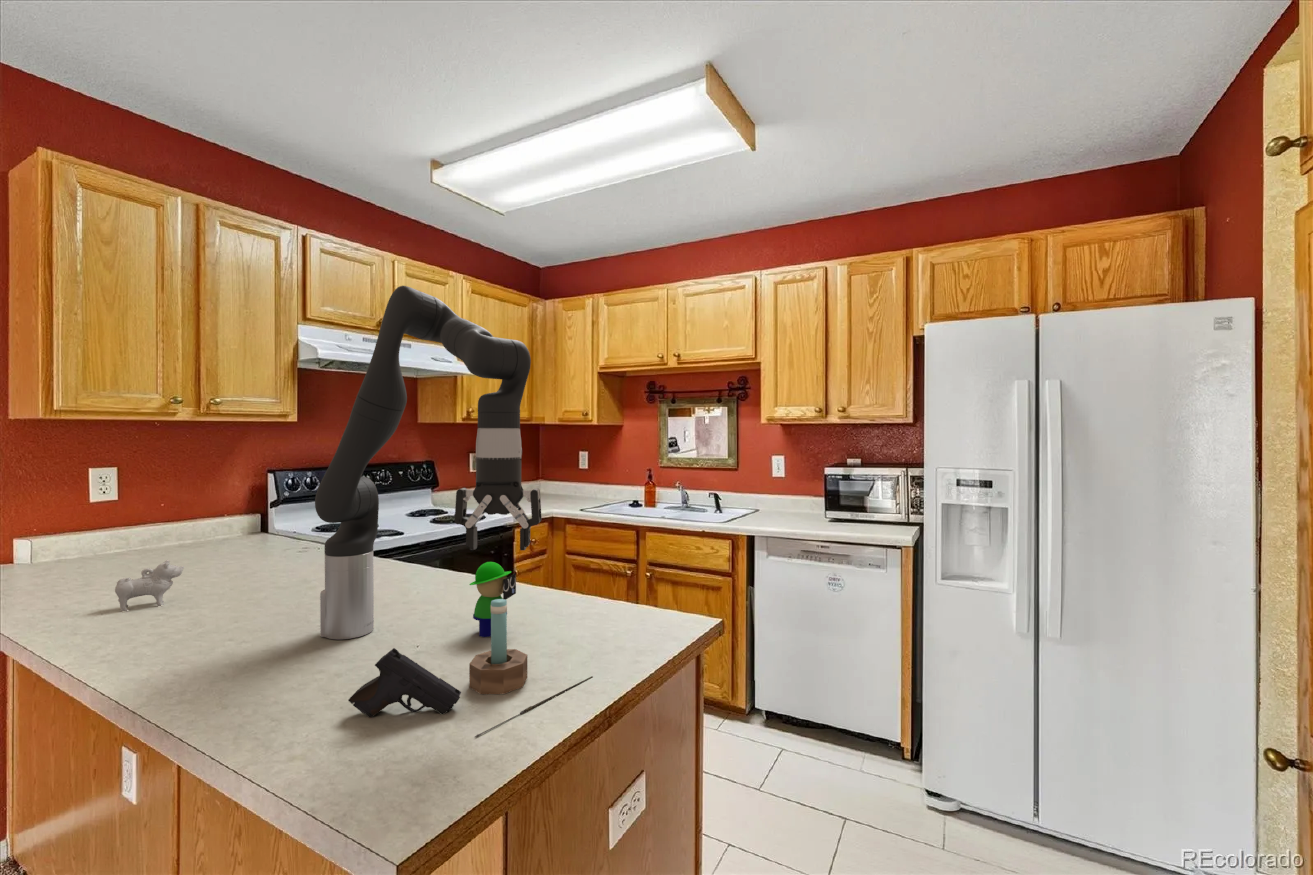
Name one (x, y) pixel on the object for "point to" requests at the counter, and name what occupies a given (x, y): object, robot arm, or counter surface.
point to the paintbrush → (538, 704)
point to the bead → (498, 673)
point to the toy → (491, 592)
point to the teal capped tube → (498, 631)
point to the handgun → (403, 687)
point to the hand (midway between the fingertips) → (498, 549)
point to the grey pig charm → (148, 584)
